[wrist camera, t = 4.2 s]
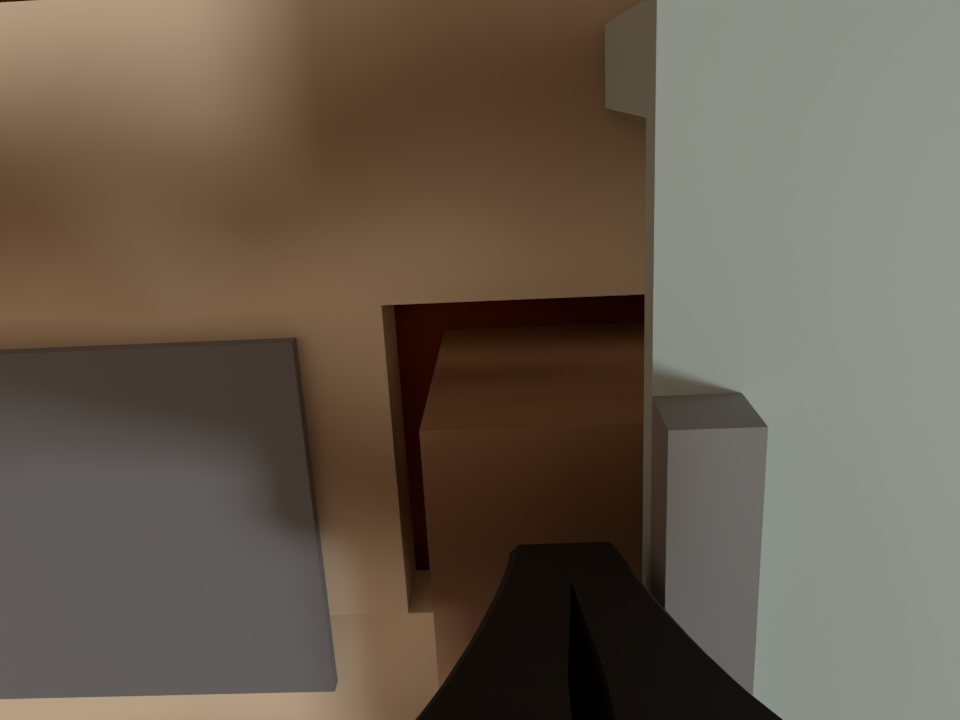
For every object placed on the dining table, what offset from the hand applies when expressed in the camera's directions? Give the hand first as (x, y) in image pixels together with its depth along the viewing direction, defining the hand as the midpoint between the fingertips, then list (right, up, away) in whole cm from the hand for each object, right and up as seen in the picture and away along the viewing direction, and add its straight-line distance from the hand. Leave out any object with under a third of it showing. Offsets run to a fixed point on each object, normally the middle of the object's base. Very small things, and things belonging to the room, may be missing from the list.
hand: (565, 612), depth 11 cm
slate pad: (-7, 0, +5) cm, 9 cm away
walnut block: (0, +2, +6) cm, 6 cm away
